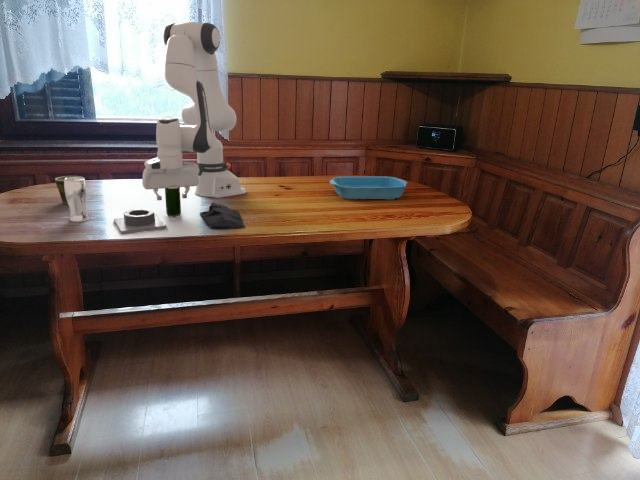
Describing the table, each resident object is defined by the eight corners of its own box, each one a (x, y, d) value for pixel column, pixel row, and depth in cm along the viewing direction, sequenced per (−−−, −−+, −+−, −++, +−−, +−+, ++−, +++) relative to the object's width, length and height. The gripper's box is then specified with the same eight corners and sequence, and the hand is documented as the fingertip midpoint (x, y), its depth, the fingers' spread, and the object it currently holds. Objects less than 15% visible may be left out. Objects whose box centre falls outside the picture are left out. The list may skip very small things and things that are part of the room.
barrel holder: (156, 217, 181) (155, 205, 180) (167, 228, 169) (166, 216, 168) (114, 221, 174) (112, 209, 172) (121, 234, 162) (120, 221, 160)
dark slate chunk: (204, 232, 169) (203, 219, 168) (199, 214, 189) (198, 202, 188) (247, 229, 174) (247, 217, 172) (238, 212, 194) (238, 201, 192)
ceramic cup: (91, 201, 197) (88, 177, 194) (70, 207, 188) (66, 182, 185) (69, 197, 202) (66, 173, 199) (47, 202, 193) (43, 177, 190)
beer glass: (73, 216, 178) (67, 176, 173) (93, 217, 178) (88, 176, 173) (65, 222, 171) (59, 180, 166) (86, 222, 172) (80, 181, 167)
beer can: (169, 217, 182) (167, 186, 177) (164, 214, 186) (162, 183, 182) (183, 216, 184) (181, 185, 180) (178, 212, 189) (176, 182, 185)
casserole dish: (334, 202, 214) (335, 186, 212) (324, 190, 235) (325, 175, 232) (413, 201, 221) (414, 186, 219) (397, 189, 242) (398, 175, 239)
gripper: (195, 159, 186) (196, 194, 190) (139, 162, 176) (142, 199, 180) (200, 162, 181) (201, 198, 185) (143, 165, 171) (146, 203, 175)
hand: (172, 199), depth 183 cm, fingers open, 8 cm apart
